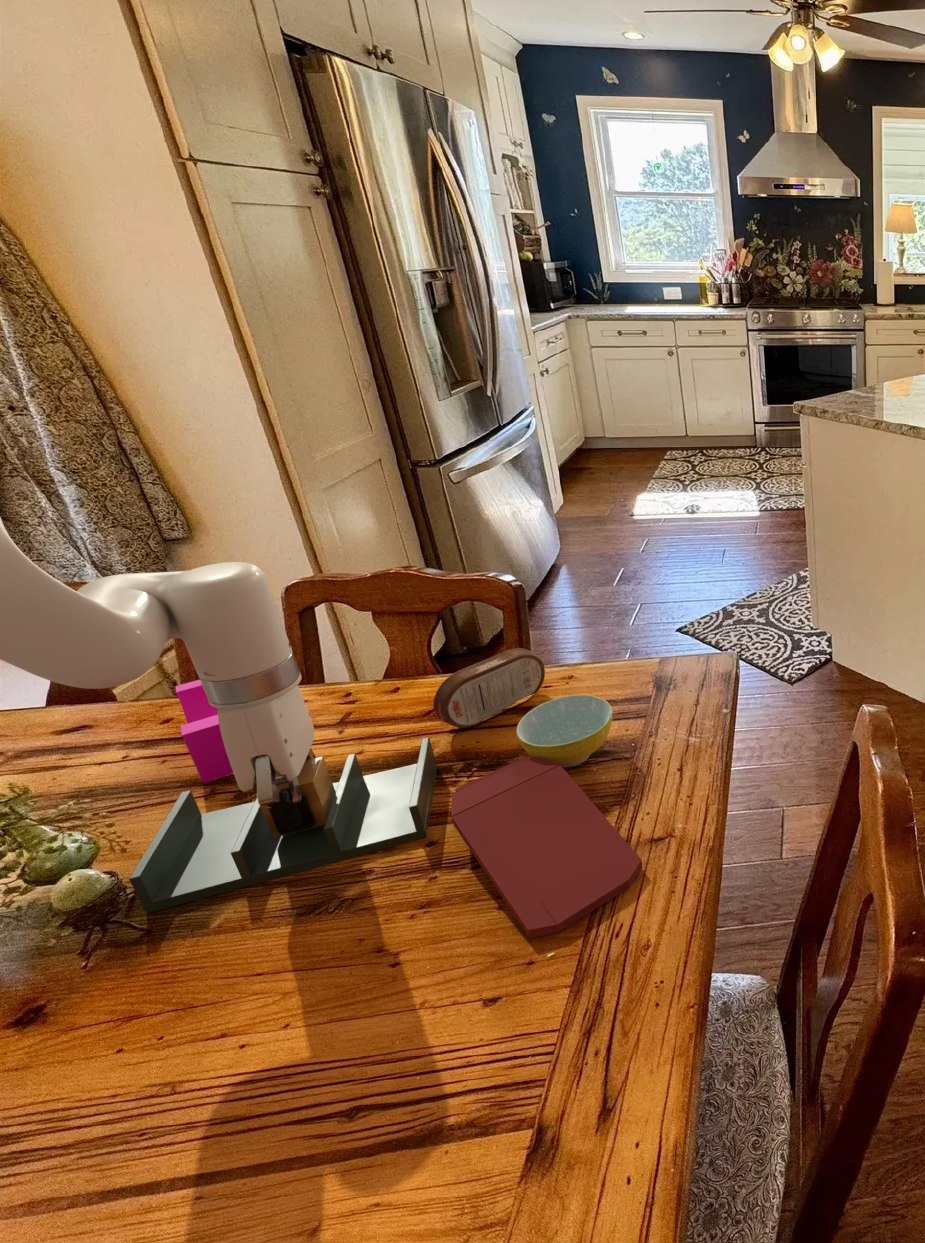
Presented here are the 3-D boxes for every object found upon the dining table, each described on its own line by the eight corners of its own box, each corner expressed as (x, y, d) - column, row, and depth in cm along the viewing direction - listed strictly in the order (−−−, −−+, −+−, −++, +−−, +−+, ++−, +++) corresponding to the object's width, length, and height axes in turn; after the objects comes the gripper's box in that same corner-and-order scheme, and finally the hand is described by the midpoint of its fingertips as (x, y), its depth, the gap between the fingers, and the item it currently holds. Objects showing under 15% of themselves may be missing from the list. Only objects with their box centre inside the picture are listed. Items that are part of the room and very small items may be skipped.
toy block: (267, 762, 96) (249, 714, 93) (203, 784, 92) (181, 735, 89) (253, 714, 106) (236, 669, 103) (195, 732, 102) (175, 686, 99)
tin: (540, 685, 114) (531, 637, 111) (552, 691, 113) (543, 643, 110) (439, 733, 103) (425, 682, 99) (451, 741, 101) (437, 689, 98)
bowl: (587, 790, 92) (579, 750, 90) (505, 779, 94) (495, 739, 92) (634, 736, 103) (628, 699, 100) (559, 727, 105) (552, 690, 102)
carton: (650, 896, 82) (545, 771, 95) (648, 867, 80) (541, 742, 93) (539, 969, 73) (441, 820, 87) (534, 939, 71) (434, 790, 84)
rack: (146, 914, 74) (128, 879, 73) (196, 824, 86) (181, 792, 84) (426, 837, 85) (417, 805, 83) (437, 766, 96) (429, 736, 94)
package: (273, 838, 81) (255, 795, 79) (285, 809, 86) (268, 768, 83) (328, 824, 84) (313, 782, 81) (337, 796, 88) (323, 756, 85)
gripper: (232, 648, 83) (282, 777, 90) (174, 730, 69) (239, 876, 76) (314, 634, 86) (357, 760, 93) (275, 711, 72) (329, 852, 79)
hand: (303, 811), depth 84 cm, fingers closed on package, 5 cm apart
